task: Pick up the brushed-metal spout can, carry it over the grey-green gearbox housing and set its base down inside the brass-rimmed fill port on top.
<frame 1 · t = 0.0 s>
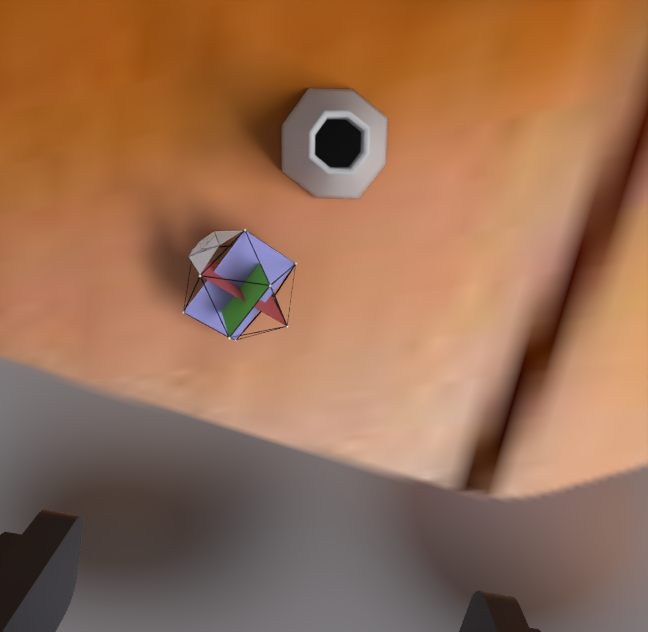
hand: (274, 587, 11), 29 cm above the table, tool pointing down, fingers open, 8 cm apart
flask: (334, 145, 37), on the table
geometric puzzle: (246, 276, 40), on the table
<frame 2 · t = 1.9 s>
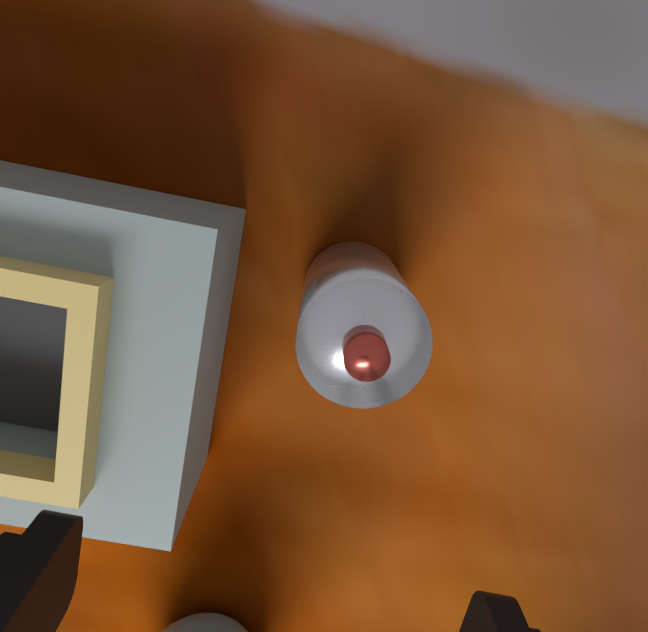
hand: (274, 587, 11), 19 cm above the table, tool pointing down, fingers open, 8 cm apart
spout can: (351, 289, 29), on the table
gearbox: (74, 312, 29), on the table
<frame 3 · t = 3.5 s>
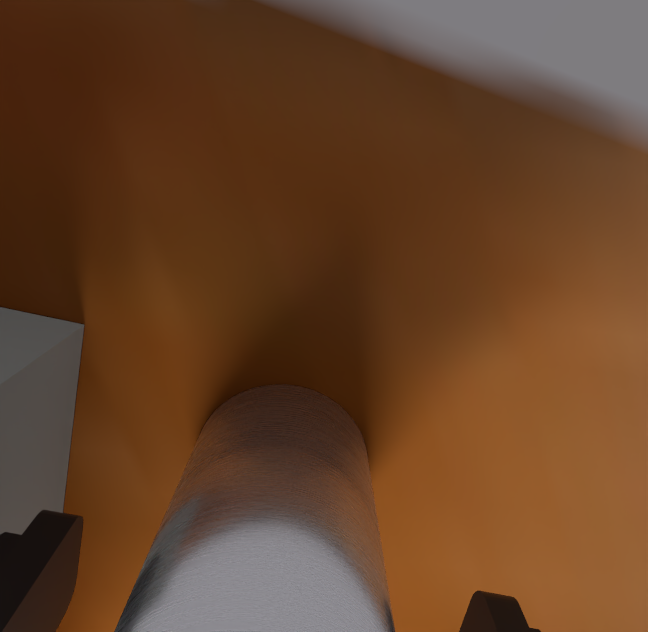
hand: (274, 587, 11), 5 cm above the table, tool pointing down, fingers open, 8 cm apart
spout can: (281, 464, 16), on the table
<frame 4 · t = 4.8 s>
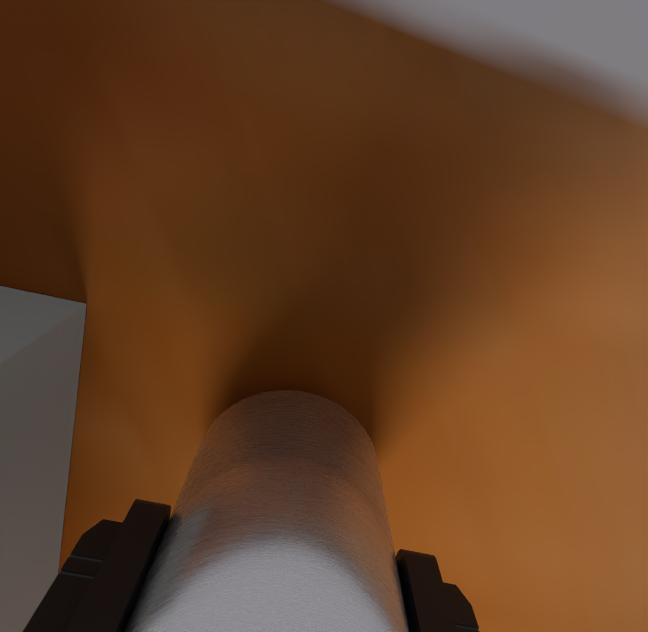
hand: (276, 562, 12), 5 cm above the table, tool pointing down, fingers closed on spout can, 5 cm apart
spout can: (287, 474, 15), point 1 cm above the table, touching gripper
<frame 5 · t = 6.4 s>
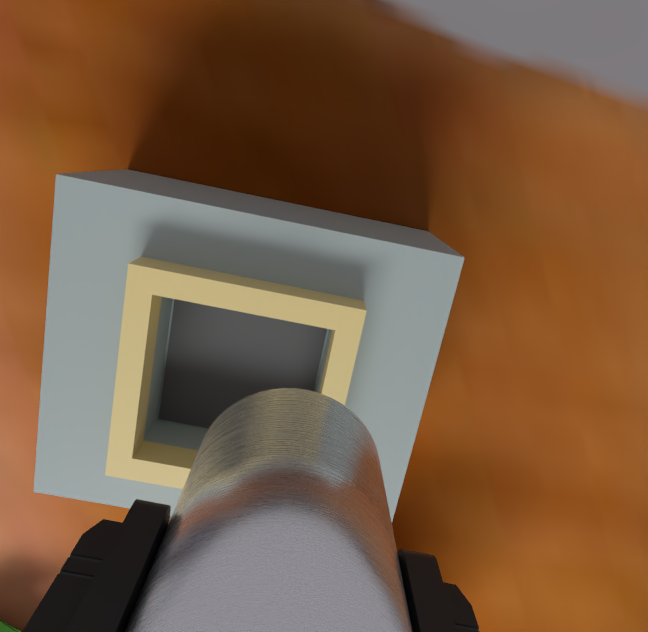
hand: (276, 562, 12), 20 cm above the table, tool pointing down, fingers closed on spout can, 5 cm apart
spout can: (288, 472, 15), point 16 cm above the table, touching gripper
gearbox: (257, 326, 31), on the table
when the fingers open (10 cm above the table, at t = 8.8 s): spout can stays where it is, resting on gearbox.
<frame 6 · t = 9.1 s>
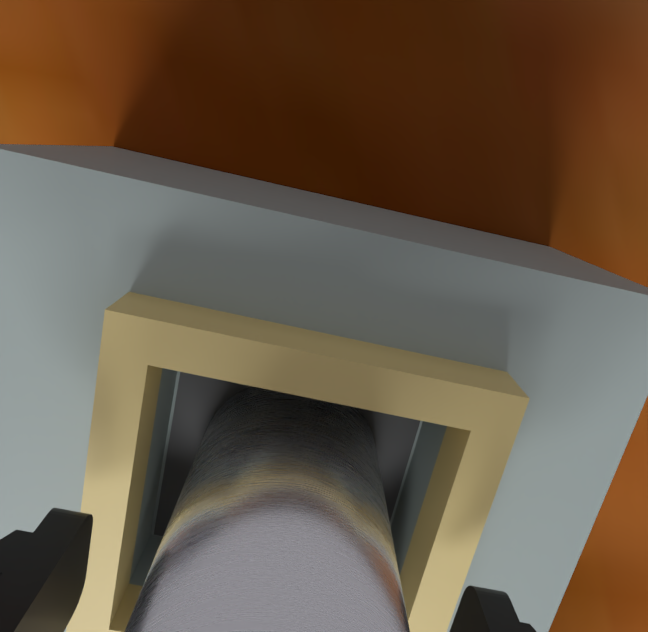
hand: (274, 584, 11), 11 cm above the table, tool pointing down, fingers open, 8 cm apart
spout can: (289, 458, 16), point 6 cm above the table, touching gearbox
gearbox: (296, 376, 22), on the table
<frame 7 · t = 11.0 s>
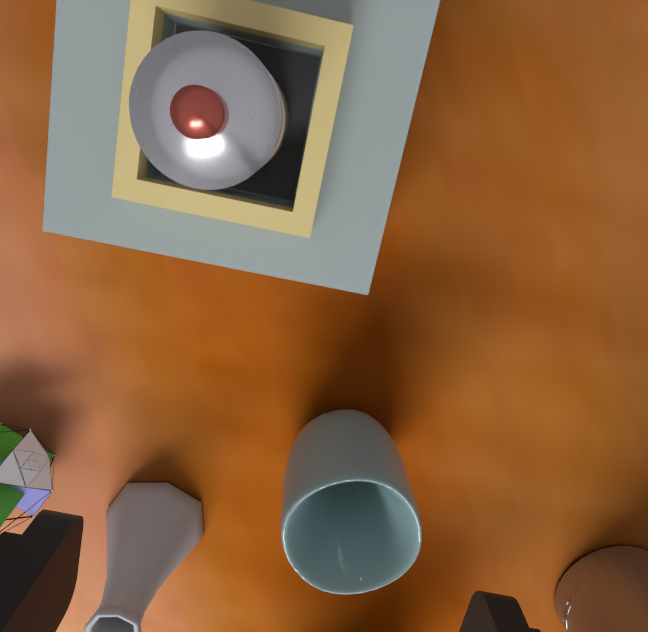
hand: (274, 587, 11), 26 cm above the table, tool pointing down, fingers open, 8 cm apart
spout can: (237, 117, 27), point 6 cm above the table, touching gearbox
flask: (157, 518, 42), on the table
cup: (341, 441, 40), on the table
gearbox: (249, 119, 33), on the table
geometric puzzle: (21, 449, 40), on the table
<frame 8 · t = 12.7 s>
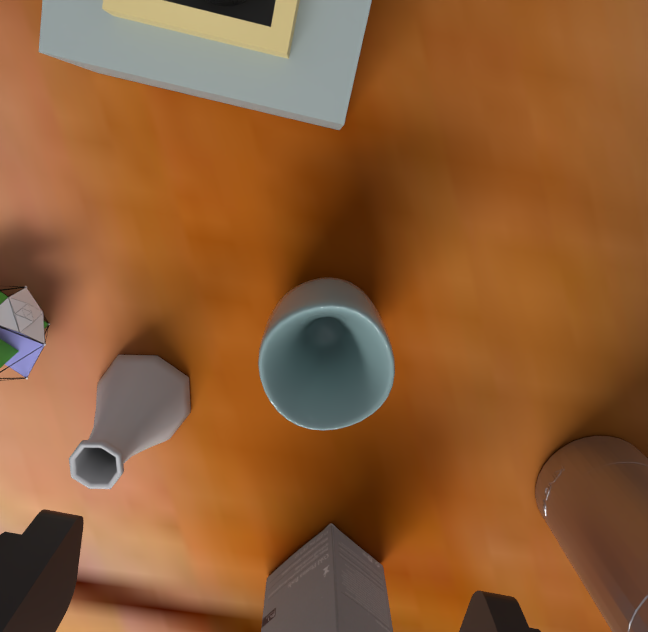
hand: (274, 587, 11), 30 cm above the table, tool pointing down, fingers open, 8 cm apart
skincare box: (325, 572, 48), on the table
flask: (146, 395, 43), on the table
cup: (325, 318, 41), on the table
geometric puzzle: (17, 319, 41), on the table
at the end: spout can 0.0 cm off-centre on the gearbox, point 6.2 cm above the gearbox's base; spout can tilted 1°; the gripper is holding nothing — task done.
